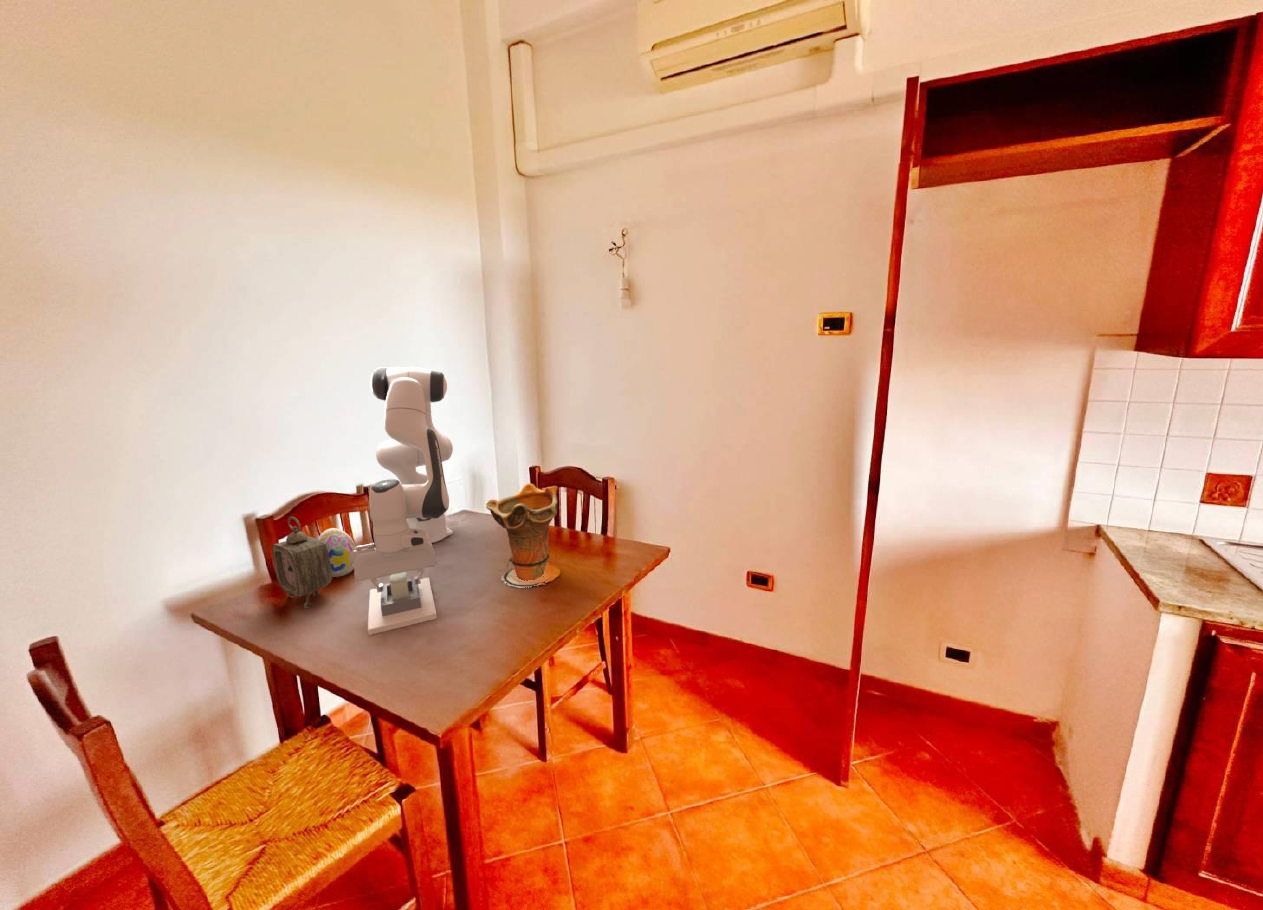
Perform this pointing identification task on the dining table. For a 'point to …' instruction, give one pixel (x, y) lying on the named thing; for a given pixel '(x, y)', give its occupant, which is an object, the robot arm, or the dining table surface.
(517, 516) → the decorative vase
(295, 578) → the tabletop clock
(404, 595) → the key block
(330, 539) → the decorative egg
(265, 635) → the dining table surface
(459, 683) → the dining table surface
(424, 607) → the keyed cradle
